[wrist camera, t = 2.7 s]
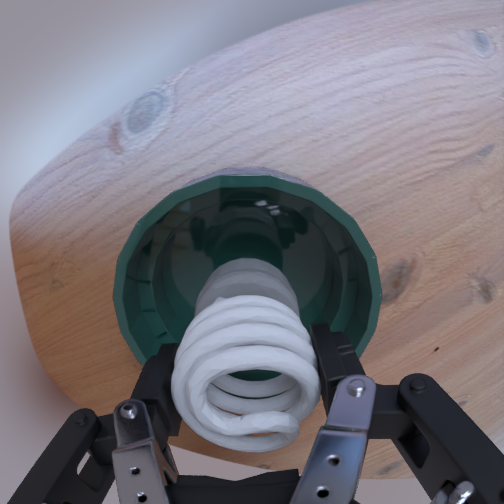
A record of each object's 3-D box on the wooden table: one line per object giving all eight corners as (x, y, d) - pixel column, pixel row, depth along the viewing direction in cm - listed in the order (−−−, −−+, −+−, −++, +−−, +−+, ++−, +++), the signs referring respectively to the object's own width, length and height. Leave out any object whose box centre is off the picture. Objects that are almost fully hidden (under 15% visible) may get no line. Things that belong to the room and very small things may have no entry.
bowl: (111, 297, 21) (81, 334, 16) (218, 121, 17) (206, 111, 12) (269, 389, 24) (272, 436, 19) (393, 253, 20) (428, 284, 15)
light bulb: (187, 287, 20) (131, 432, 9) (238, 220, 19) (221, 335, 7) (255, 332, 21) (259, 485, 10) (309, 272, 20) (368, 415, 9)
